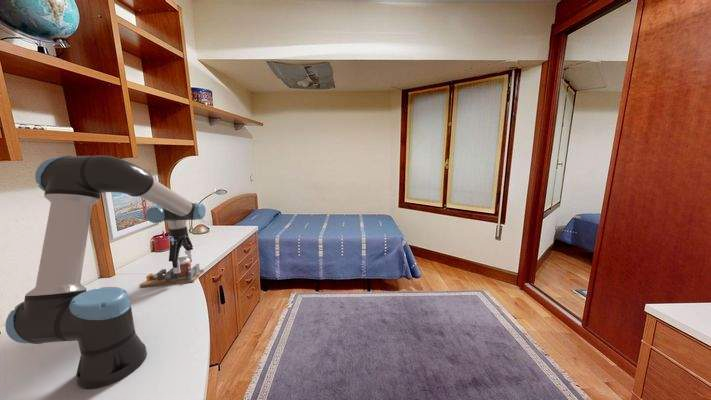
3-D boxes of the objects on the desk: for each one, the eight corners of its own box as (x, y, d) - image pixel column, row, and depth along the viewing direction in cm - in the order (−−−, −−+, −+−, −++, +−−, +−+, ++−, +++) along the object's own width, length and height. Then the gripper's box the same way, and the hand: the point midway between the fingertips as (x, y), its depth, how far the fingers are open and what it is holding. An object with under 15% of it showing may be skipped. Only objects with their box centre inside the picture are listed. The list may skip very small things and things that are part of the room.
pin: (163, 278, 130) (163, 274, 130) (146, 280, 129) (146, 276, 129) (167, 276, 133) (166, 272, 133) (150, 277, 132) (149, 273, 132)
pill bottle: (192, 276, 132) (189, 256, 131) (177, 279, 129) (174, 258, 127) (191, 272, 138) (189, 252, 136) (177, 275, 134) (175, 255, 132)
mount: (193, 282, 128) (192, 272, 128) (140, 287, 124) (138, 277, 123) (203, 271, 141) (202, 262, 140) (155, 275, 137) (154, 266, 136)
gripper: (173, 233, 118) (180, 277, 121) (196, 220, 142) (201, 257, 145) (155, 235, 116) (162, 279, 120) (181, 221, 141) (186, 258, 144)
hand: (183, 267), depth 133 cm, fingers open, 13 cm apart
